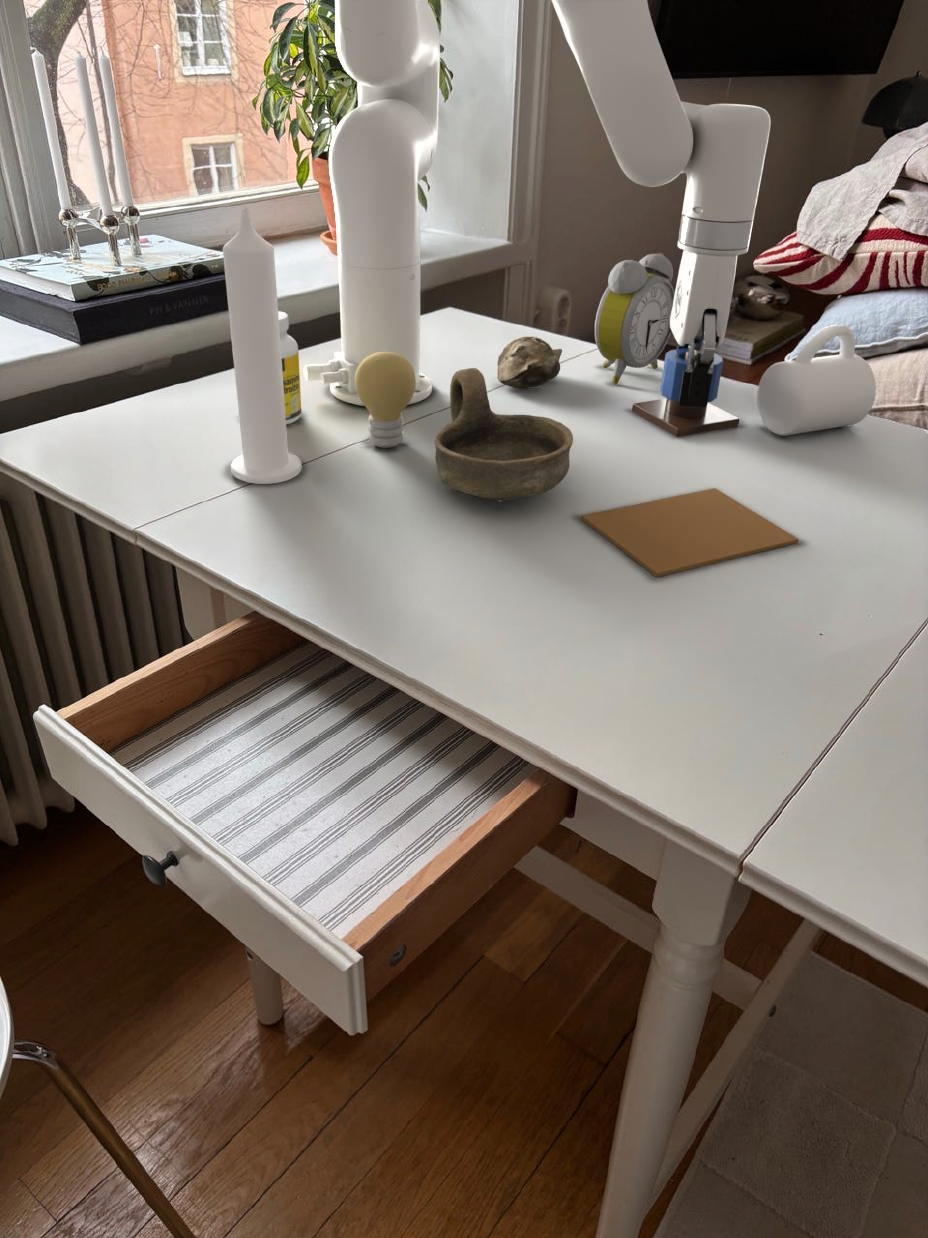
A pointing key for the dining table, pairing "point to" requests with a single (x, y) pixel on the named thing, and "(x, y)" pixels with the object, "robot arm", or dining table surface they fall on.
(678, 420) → the dowel stand
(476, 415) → the bowl
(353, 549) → the dining table surface
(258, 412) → the candle
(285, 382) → the pill bottle
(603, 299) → the alarm clock
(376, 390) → the light bulb
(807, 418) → the mug
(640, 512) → the mat
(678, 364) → the blue hollow cylinder
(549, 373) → the fossilized seashell
